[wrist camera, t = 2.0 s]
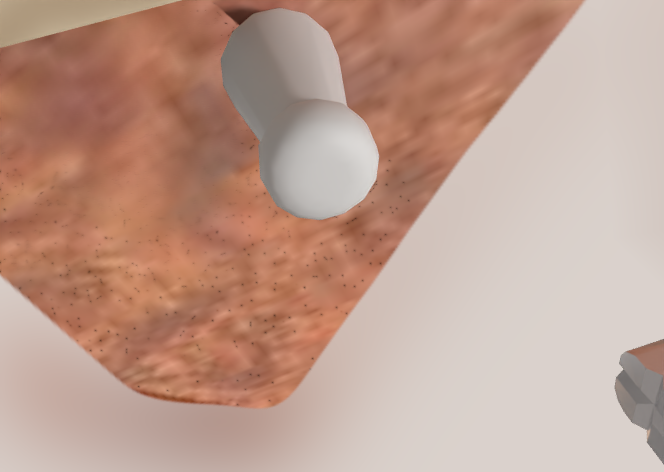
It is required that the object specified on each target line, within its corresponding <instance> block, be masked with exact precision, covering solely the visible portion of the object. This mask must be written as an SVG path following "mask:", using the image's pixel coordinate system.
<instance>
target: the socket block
mask: <svg viewBox="0 0 664 472" xmlns="http://www.w3.org/2000/svg"><path fill="white" fill-rule="evenodd" d="M176 1H180V0H0V48H1V47H5V46H9V45H13V44H17V43H20V42H24V41H28V40H32V39H36V38H39V37H43V36H47V35H51V34H55V33H58V32H62V31H66V30H70V29H74V28H77V27H81V26H85V25H89V24H93V23H96V22H100V21H104V20H108V19H112V18H115V17H119V16H123V15H127V14H131V13H134V12H138V11H142V10H146V9H150V8H153V7H157V6H161V5H165V4H169V3H172V2H176Z"/></svg>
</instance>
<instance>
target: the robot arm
mask: <svg viewBox="0 0 664 472" xmlns="http://www.w3.org/2000/svg"><path fill="white" fill-rule="evenodd" d="M619 364H620V365H621V366H622V368H623V369H624V370H623V371H622V372H621V373H620V374H619V375H618V376H617V377H616V382H615V391H616V395H617V398H618V401H619V403H620V405H621V407H622V409H623V411H624V412H625V414H626V415H627V416H628V418H629V419H630V420H631V422H632V423H634V424H636V425H638V426H640V427H642V428H644V429H646V430H647V443H648V444H649V446H650V447H651V448H652V449H653V451H654V452H655V453H656V455H657V456H658V457H659V459H660V460H661V461H662V463H663V464H664V339H662V340H659V341H656V342H653V343H650V344H647V345H644V346H641V347H638V348H635V349H632V350H629V351H626V352H625V353H623V354H622V355H621V358H620V362H619Z"/></svg>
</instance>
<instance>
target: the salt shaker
mask: <svg viewBox="0 0 664 472" xmlns="http://www.w3.org/2000/svg"><path fill="white" fill-rule="evenodd" d="M221 67H222V77H223V86H224V88H225V90H226V92H227V93H228V95H229V97H230V99H231V101H232V102H233V104H234V106H235V108H236V109H237V111H238V112H239V113H240V115H241V116H242V117H243V119H244V120H245V122H246V123H247V124H248V126H249V127H250V128H251V130H252V131H253V133H254V134H255V135H256V137H257V138H258V139H259V141H260V144H259V165H260V178H261V180H262V182H263V183H264V185H265V187H266V188H267V190H268V192H269V193H270V195H271V197H272V198H273V200H274V202H275V203H276V205H277V206H278V207H280V208H282V209H283V210H285V211H287V212H289V213H290V214H292V215H294V216H296V217H299V218H308V219H316V220H322V219H326V218H329V217H333V216H336V215H340V214H343V213H345V212H347V211H348V210H349V209H351V208H352V207H354V206H355V205H356V204H358V203H359V202H361V201H362V200H363V199H364V198H365V197H366V195H367V193H368V192H369V190H370V188H371V187H372V185H373V183H374V182H375V180H376V176H377V168H378V160H379V155H378V150H377V146H376V144H375V142H374V139H373V137H372V135H371V132H370V130H369V128H368V126H367V124H366V123H365V122H364V120H363V119H362V118H361V117H360V116H358V115H357V114H356V113H355V112H353V111H352V110H351V109H350V108H348V107H347V104H346V98H345V92H344V87H343V81H342V75H341V69H340V63H339V58H338V55H337V52H336V50H335V48H334V45H333V43H332V40H331V38H330V36H329V33H328V32H327V31H326V30H325V29H323V28H322V27H321V26H320V25H319V24H318V23H316V22H315V21H314V20H313V19H312V18H311V17H310V16H308V15H307V14H305V13H301V12H297V11H293V10H288V9H284V8H275V9H271V10H267V11H262V12H258V13H254V14H252V15H251V16H250V17H249V18H247V19H246V20H245V21H244V22H243V23H242V24H241V25H240V26H238V27H237V28H236V29H235V30H234V31H233V32H232V35H231V37H230V39H229V41H228V44H227V46H226V48H225V50H224V53H223V55H222V57H221Z"/></svg>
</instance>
